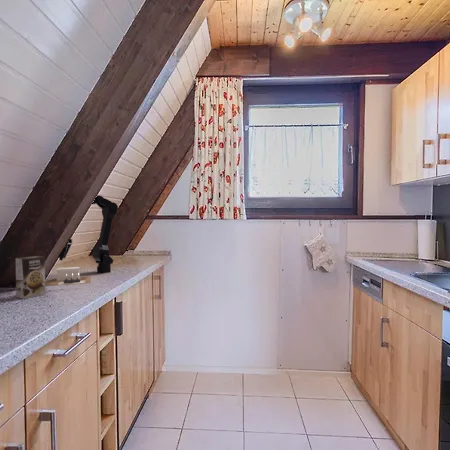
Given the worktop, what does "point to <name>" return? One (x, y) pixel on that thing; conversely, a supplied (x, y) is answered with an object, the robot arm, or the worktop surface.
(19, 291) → the cookie box
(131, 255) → the worktop surface
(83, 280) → the board
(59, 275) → the block
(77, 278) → the dark grey bulb holder
